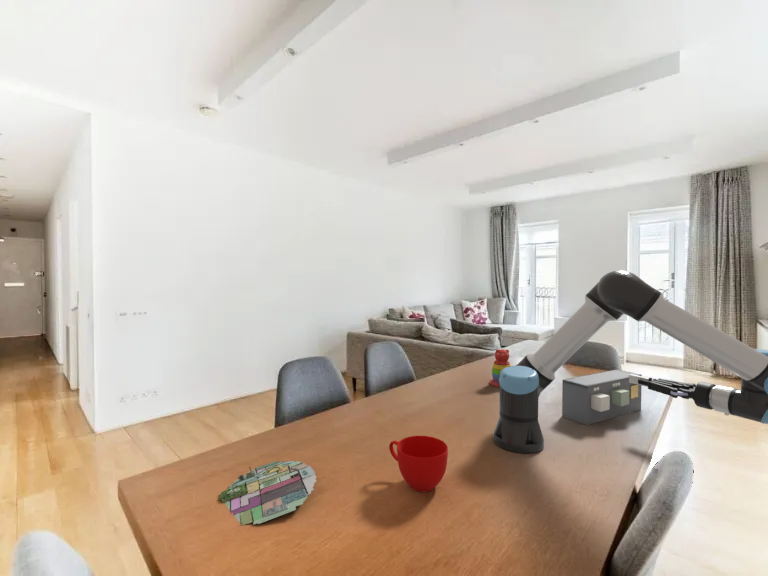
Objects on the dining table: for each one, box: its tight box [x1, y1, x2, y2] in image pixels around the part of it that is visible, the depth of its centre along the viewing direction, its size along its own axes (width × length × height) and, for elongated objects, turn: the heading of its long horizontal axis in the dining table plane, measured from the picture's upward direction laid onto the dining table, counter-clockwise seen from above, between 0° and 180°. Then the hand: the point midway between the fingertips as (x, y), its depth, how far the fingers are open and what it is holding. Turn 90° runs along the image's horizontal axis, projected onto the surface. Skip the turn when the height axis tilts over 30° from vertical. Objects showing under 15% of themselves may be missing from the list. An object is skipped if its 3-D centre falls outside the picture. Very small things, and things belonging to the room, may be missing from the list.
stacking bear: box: [489, 348, 512, 388], centre depth 184 cm, size 11×10×18 cm
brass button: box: [630, 384, 638, 399], centre depth 150 cm, size 6×5×5 cm
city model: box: [219, 460, 318, 526], centre depth 92 cm, size 25×23×6 cm
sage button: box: [611, 388, 629, 406], centre depth 142 cm, size 6×5×5 cm
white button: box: [591, 393, 610, 412], centre depth 136 cm, size 6×5×5 cm
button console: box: [561, 368, 643, 426], centre depth 147 cm, size 10×34×14 cm, turn 118°
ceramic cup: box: [388, 435, 449, 493], centre depth 98 cm, size 13×17×10 cm
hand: (630, 378), depth 131 cm, fingers closed
